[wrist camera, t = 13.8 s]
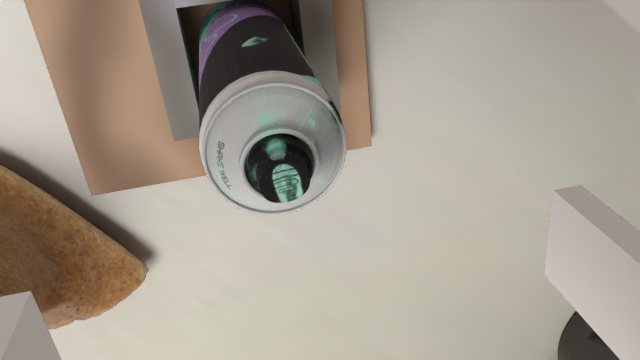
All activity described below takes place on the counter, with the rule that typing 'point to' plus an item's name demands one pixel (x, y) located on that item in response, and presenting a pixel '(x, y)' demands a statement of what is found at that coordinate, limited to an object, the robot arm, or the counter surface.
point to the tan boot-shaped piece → (59, 256)
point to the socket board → (134, 91)
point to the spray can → (263, 113)
